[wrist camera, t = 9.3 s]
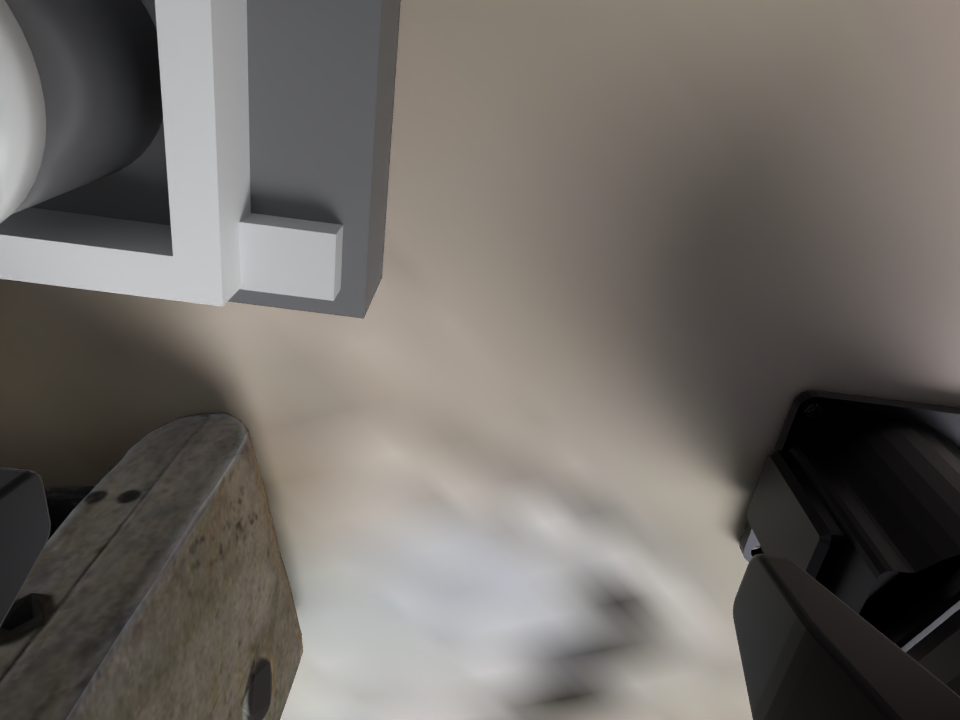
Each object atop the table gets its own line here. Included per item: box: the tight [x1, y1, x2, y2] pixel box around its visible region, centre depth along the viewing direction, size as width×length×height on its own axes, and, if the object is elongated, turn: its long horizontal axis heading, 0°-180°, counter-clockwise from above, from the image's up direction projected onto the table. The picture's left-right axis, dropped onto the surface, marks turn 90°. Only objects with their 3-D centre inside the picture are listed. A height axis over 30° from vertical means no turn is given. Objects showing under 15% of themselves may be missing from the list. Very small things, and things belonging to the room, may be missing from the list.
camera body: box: [0, 0, 401, 318], centre depth 15 cm, size 14×10×5 cm
